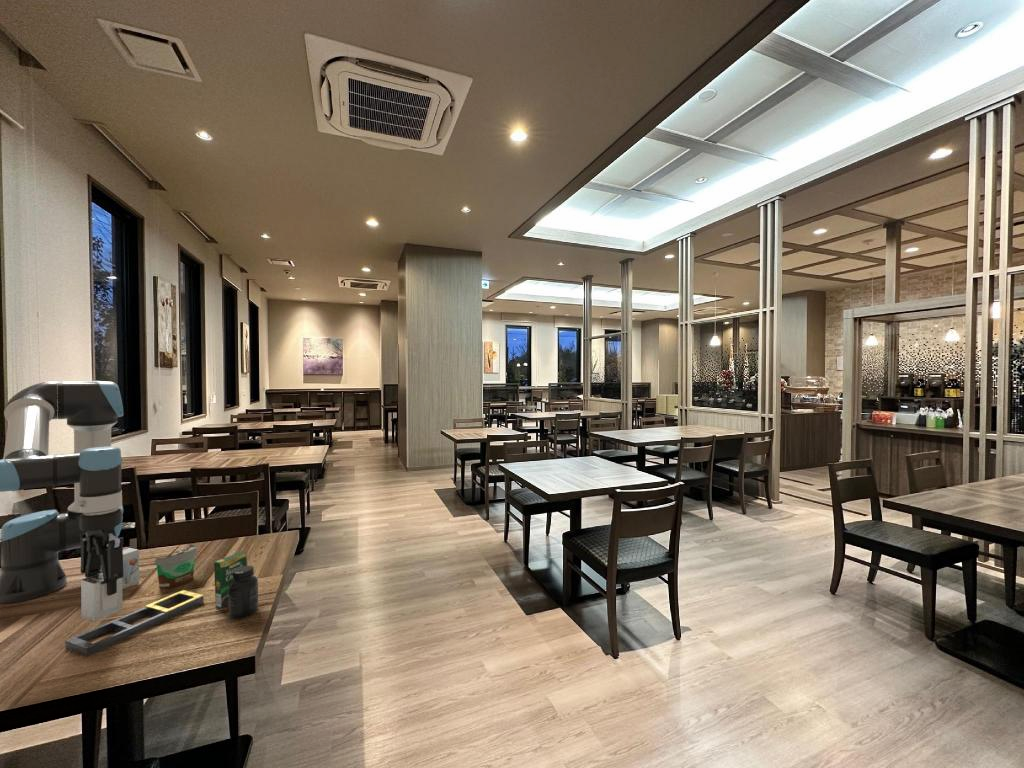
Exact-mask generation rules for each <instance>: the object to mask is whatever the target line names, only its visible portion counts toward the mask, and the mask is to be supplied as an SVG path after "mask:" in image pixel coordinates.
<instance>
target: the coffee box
mask: <svg viewBox="0 0 1024 768" xmlns="http://www.w3.org/2000/svg"><path fill="white" fill-rule="evenodd" d="M247 559H248V558H247V552H244V551H238V552H236V553H234V554H232V555H229V556H226V557H224V558H221V559H218V560H216V561H214V563H213V565H214V594H215V598H214V599H215V601H214V602H215V608H217V609H221V610H222V609H224V608H226V607H229V591H228V588H229V584H230V582H231V581H232V580H233V570H235V569H236V568H239V567H243V566H248V562H247Z"/></svg>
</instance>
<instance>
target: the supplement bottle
mask: <svg viewBox="0 0 1024 768" xmlns="http://www.w3.org/2000/svg"><path fill="white" fill-rule="evenodd" d="M228 591H229V606H228V617H229V618H230V619H233V620H243V619H246V618H249V617H251V616H253V615H255V614H256V613H257V612H258V611H259V580H258V577H257V576H255V570H254V566H253V565H247V566H243V567H239V568H236V569H235V570H233V580H232V581H231V582H230V584H229V588H228Z"/></svg>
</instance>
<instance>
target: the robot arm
mask: <svg viewBox="0 0 1024 768" xmlns="http://www.w3.org/2000/svg"><path fill="white" fill-rule="evenodd" d="M3 415H4V418H5V420H6V421H7V422H8V424H7V430H6V437H5V438H6V439H5V445H4V451H3V457H2V458H1V459H0V493H1V492H2V493H4V492H17V491H24V490H31V489H38V488H45V487H55V486H63V485H71V484H74V485H73V486H74V494H73V495H74V500H73V502H72V503H70V505H69V506H68V507H67V512H64V513H59V512H58V510H57V509H47V510H42V511H36V512H33V513H29V514H24V515H22V516H18V517H16V518H13V519H10V520H8V521H7V522H5V523H4V524H3V525H2V527H1V530H0V531H1V532H0V546H1V547H0V550H1V554H0V560H1V561H0V563H1V564H0V567H1V568H0V570H1V572H0V604H1V603H2V605H4V604H12V603H18V602H23V601H24V602H25V601H28V600H33V599H35V598H39V597H42V596H45V595H48V594H50V593H54V592H55V591H58V590H60V589H62V588H63V587H64V586H66V585H67V574H66V572H65V571H64V569H63V566H62V564H61V562H60V561H59V553H60V552H65V551H70V550H74V549H79V548H80V573H81V574H82V575H84V577H85V578H88V577H91V576H94V575H97V574H99V573H102V572H103V578H104V581H102V582H100V584H101V585H102V610H106V609H108V608H111V607H113V606H116V605H117V579H119V578H122V577H123V548H124V547H123V546H124V541H125V539H124V537H119V536H120V533H121V529H122V525H123V518H124V517H123V514H124V506H123V490H122V462H123V459H122V451H121V447H119V446H118V447H117V446H112V428H113V426H115V425H116V424H117V423H118V418H121V417H123V416H124V406H123V400H122V395H121V392H120V387H119V385H118V384H117V383H116V382H113V381H105V380H103V381H102V380H77V381H76V380H75V381H74V380H72V381H71V380H69V381H66V380H65V381H63V380H62V381H59V380H58V381H57V380H53V381H52V380H51V381H50V380H49V381H43V382H40V383H35V384H33V385H29V386H28V387H26V388H24V389H21V390H20V391H19V392H16V394H14V395H13V396H12V397H11V398H9V400H8V401H7V403H6V404H5V407H4V411H3ZM52 420H66V425H67V426H68V427H70V428H72V429H73V453H66V454H64V453H63V454H51V455H49V453H50V452H49V448H50V447H49V444H50V439H49V438H50V422H51V421H52ZM101 566H102V569H100V568H101Z"/></svg>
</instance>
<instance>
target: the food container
mask: <svg viewBox="0 0 1024 768" xmlns="http://www.w3.org/2000/svg"><path fill="white" fill-rule="evenodd" d="M198 552H199V551H198V548H197V546H196V545H195V544H192V543H190V545H189V547H186V548H185V549H182V550H178V551H174V552H172V553H171V554H170V553H169V554H168V555H167V556H165V557H163V556H162V557H155V559H154V566H156V572H157V579H158V587H159V590H169V589H175V588H178V587H181V586H184V585H187V584H189V583H190V582H192V581H193V579H194V572H195V571H194V570H195V561H196V555H198Z"/></svg>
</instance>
